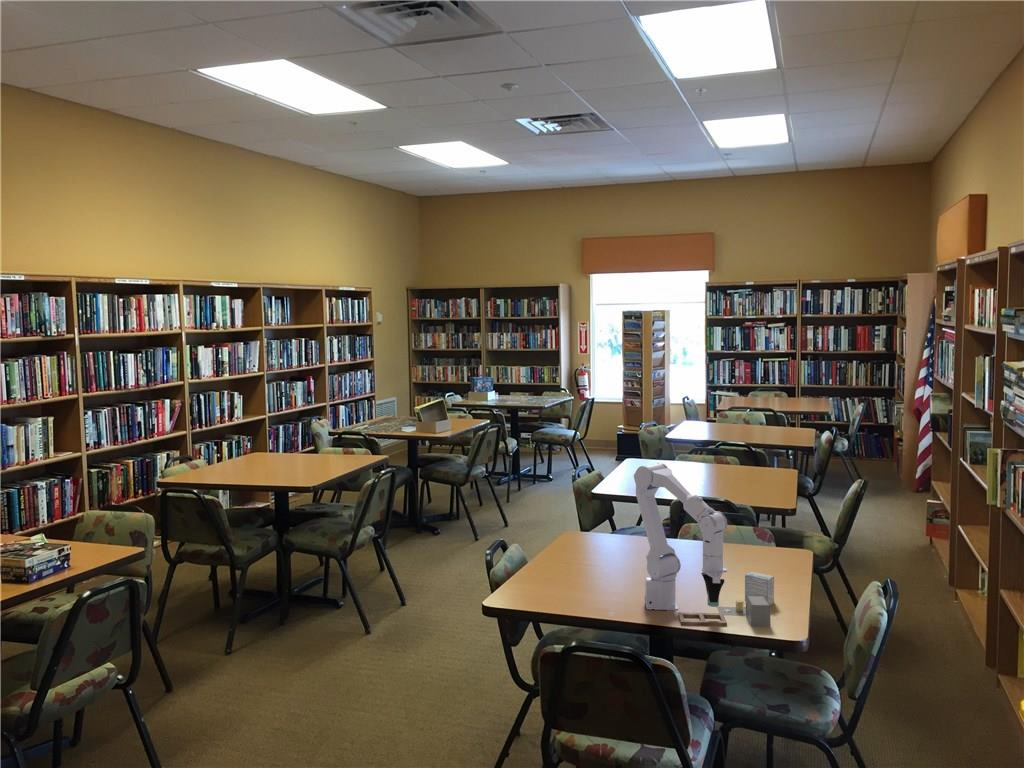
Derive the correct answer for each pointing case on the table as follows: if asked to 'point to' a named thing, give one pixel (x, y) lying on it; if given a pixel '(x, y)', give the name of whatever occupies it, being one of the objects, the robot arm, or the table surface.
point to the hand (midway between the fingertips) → (712, 599)
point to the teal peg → (712, 603)
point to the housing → (758, 611)
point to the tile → (733, 609)
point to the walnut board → (702, 619)
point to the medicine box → (759, 586)
